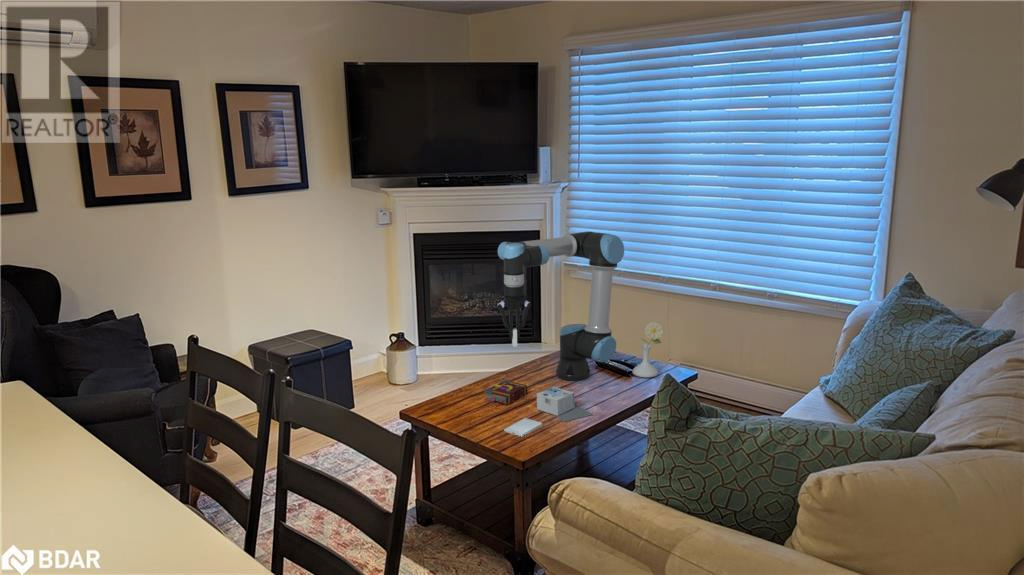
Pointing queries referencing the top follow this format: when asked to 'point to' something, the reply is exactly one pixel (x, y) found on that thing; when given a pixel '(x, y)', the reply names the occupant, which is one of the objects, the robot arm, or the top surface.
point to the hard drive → (523, 427)
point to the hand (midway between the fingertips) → (514, 345)
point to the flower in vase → (645, 367)
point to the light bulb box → (555, 401)
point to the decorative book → (506, 392)
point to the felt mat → (574, 414)
